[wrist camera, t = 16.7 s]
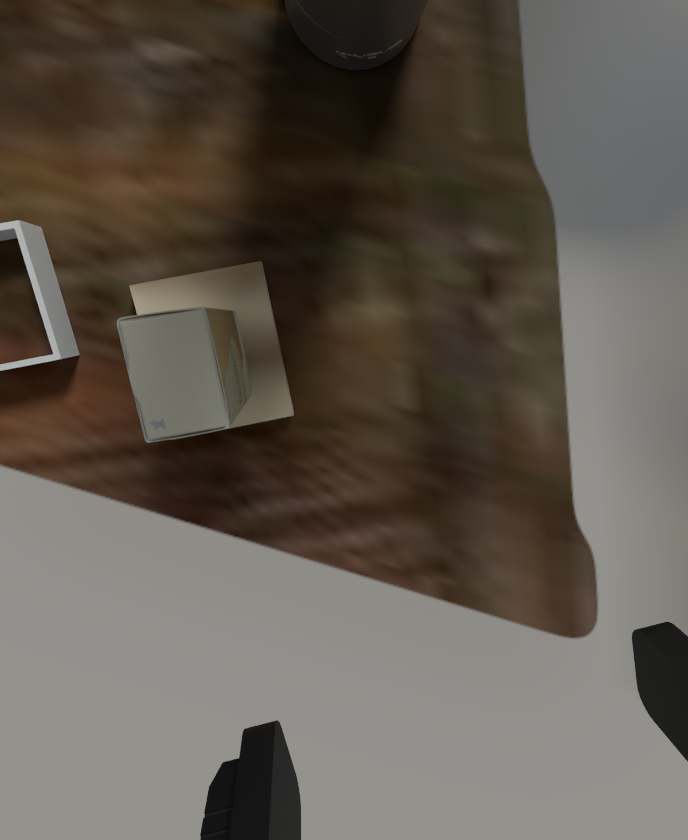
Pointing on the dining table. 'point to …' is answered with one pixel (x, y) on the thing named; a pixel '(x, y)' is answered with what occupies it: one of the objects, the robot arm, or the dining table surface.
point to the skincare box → (185, 370)
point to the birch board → (256, 322)
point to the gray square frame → (42, 292)
